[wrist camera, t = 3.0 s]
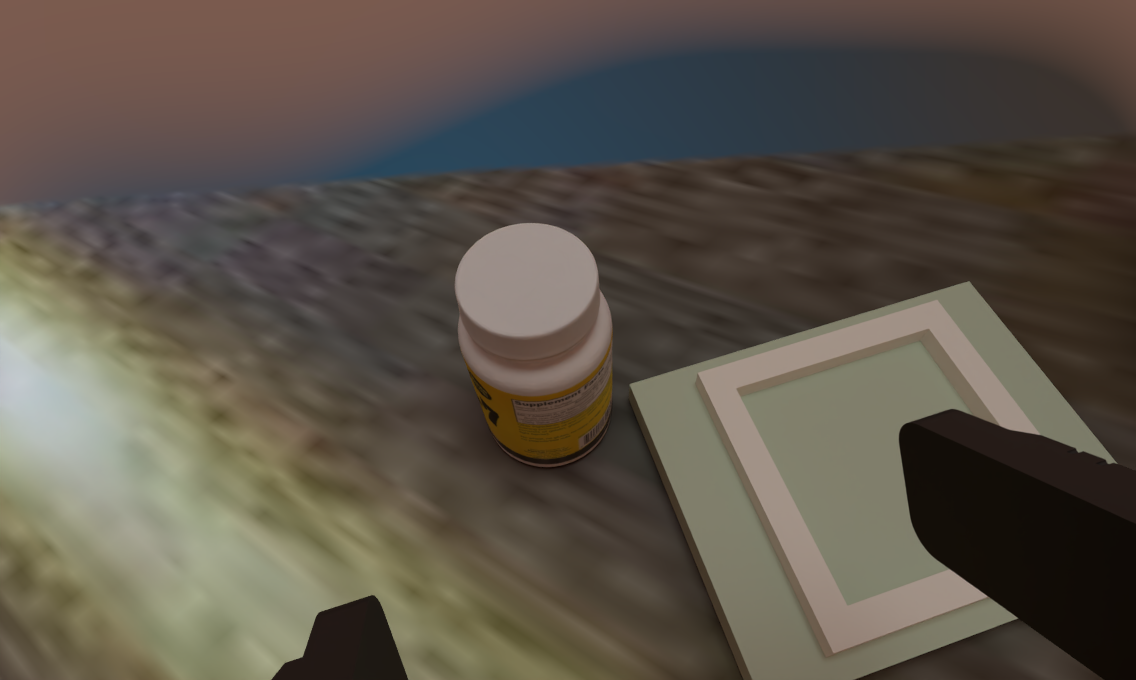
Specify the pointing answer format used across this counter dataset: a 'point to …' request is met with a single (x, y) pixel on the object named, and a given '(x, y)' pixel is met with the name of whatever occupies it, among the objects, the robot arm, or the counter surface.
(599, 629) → the counter surface
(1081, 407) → the counter surface
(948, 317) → the grey-green flat tray
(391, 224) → the counter surface
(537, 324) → the supplement bottle
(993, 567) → the robot arm
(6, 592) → the counter surface
